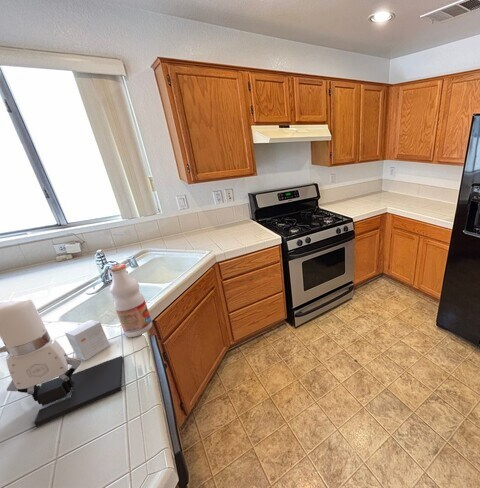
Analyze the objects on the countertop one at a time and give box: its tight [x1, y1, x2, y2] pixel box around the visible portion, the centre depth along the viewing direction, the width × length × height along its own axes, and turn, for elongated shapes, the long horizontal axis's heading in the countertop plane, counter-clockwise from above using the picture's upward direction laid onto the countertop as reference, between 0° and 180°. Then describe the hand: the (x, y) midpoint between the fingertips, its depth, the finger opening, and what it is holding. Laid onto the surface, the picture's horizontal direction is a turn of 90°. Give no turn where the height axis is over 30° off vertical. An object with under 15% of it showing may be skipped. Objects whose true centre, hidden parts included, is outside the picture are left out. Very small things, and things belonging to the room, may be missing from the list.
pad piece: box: [37, 377, 69, 407], centre depth 75 cm, size 5×5×4 cm
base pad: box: [33, 355, 124, 428], centre depth 79 cm, size 18×16×2 cm
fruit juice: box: [108, 263, 153, 338], centre depth 100 cm, size 9×9×28 cm
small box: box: [64, 319, 111, 361], centre depth 93 cm, size 8×6×10 cm
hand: (56, 394), depth 75 cm, fingers closed on pad piece, 5 cm apart
